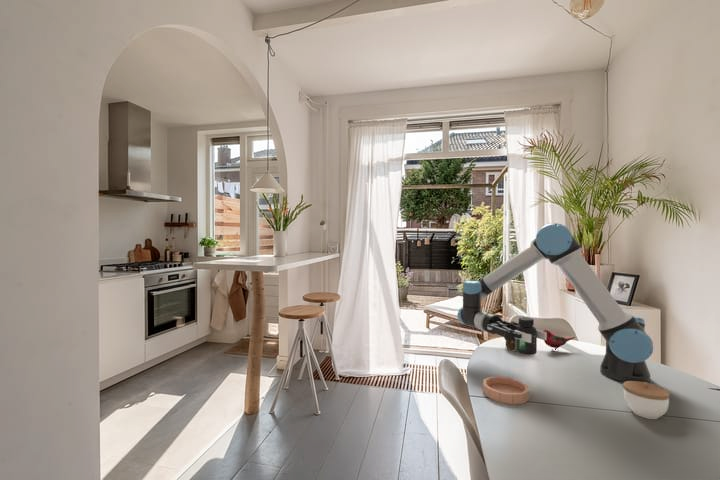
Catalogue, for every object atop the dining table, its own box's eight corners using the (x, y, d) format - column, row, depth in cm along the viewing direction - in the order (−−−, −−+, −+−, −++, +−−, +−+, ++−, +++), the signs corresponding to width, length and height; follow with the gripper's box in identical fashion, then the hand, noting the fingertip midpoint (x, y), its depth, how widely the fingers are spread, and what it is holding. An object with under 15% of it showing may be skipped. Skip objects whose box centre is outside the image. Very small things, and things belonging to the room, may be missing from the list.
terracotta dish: (536, 395, 114) (536, 386, 114) (515, 408, 105) (515, 398, 105) (496, 381, 125) (496, 373, 125) (475, 392, 116) (475, 383, 116)
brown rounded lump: (529, 347, 165) (530, 322, 165) (527, 353, 155) (527, 327, 155) (505, 343, 170) (505, 319, 170) (501, 349, 161) (501, 324, 161)
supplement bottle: (523, 355, 119) (524, 321, 119) (511, 349, 126) (511, 316, 125) (541, 354, 120) (541, 320, 120) (527, 348, 127) (528, 316, 127)
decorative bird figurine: (538, 350, 160) (538, 329, 160) (573, 349, 162) (573, 328, 162) (542, 352, 157) (542, 330, 157) (577, 351, 159) (577, 329, 159)
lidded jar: (679, 425, 96) (679, 392, 96) (635, 421, 98) (635, 388, 98) (654, 407, 106) (654, 377, 106) (615, 403, 108) (615, 374, 108)
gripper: (506, 329, 143) (557, 344, 122) (469, 334, 135) (517, 352, 114) (506, 311, 143) (557, 323, 122) (469, 315, 135) (517, 329, 114)
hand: (538, 337), depth 118 cm, fingers closed on supplement bottle, 7 cm apart
